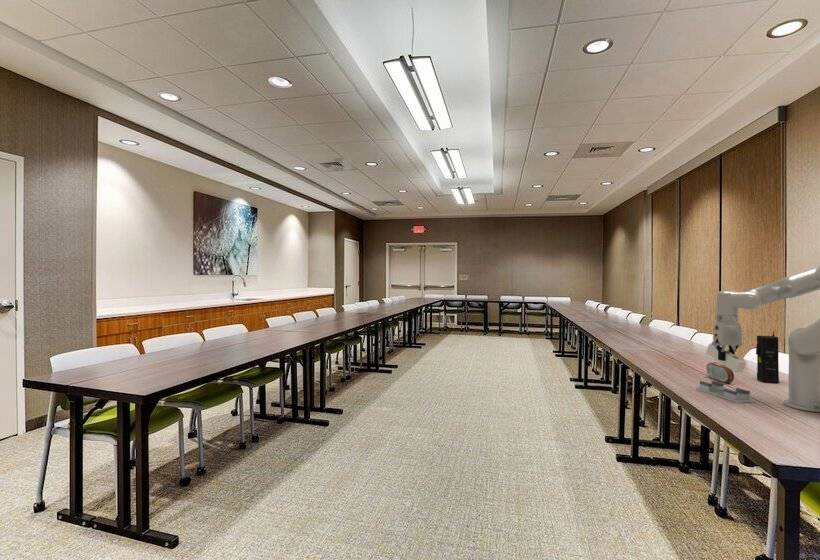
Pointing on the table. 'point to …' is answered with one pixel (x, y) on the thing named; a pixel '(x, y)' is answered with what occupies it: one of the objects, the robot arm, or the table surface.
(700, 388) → the cradle rack
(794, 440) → the table surface
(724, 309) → the robot arm
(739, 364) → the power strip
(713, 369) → the tin
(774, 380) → the portable radio
